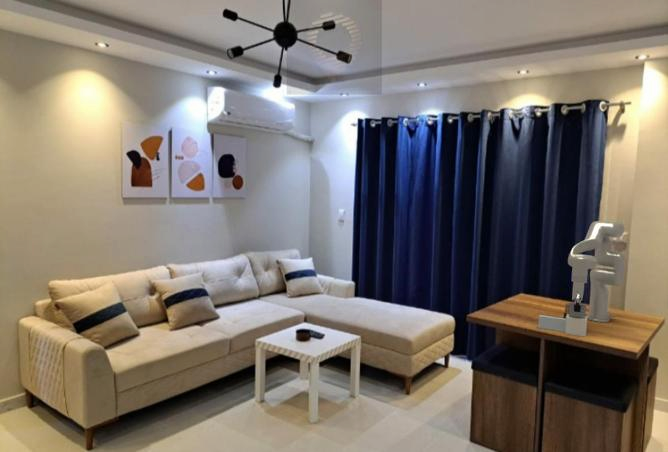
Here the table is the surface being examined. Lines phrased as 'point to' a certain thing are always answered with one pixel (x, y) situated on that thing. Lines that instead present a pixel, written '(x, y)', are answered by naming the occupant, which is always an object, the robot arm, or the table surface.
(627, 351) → the table surface
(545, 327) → the headboard post
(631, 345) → the table surface
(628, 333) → the table surface
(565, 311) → the ammunition clip
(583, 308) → the steel bracket
